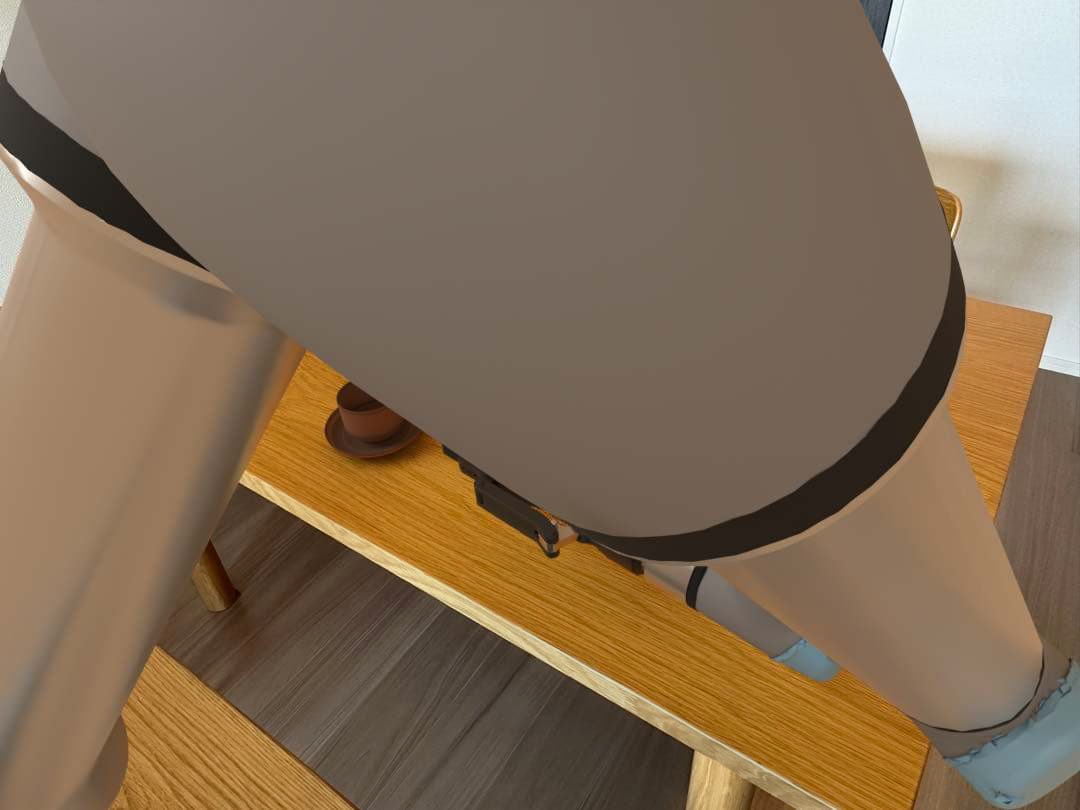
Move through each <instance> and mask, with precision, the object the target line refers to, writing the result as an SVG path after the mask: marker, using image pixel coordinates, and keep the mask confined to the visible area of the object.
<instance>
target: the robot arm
mask: <svg viewBox="0 0 1080 810" xmlns="http://www.w3.org/2000/svg"><path fill="white" fill-rule="evenodd" d="M924 152H925V151H924V149H923V146H922V144H921V141H920V138H919V134H918V132H917V128H916V125H915V122H914V120H913V117H912V113H911V109H910V107H909V104H908V101H907V99H906V97H905V95H904V93H903V91H902V88H901V87H900V84H899V82H898V80H897V78H896V76H895V74H894V71H893V70H892V67H891V65H890V63H889V61H888V58H887V57H886V55H885V53H884V50H883V48H882V46H881V44H880V41H879V40H878V37H877V35H876V32H875V31H874V29H873V26H872V24H871V22H870V20H869V19H868V16H867V13H866V12H865V10H864V8H863V6H862V3H861V1H860V0H20V3H19V6H18V10H17V13H16V17H15V20H14V24H13V28H12V31H11V34H10V38H9V42H8V45H7V49H6V51H5V56H4V59H3V60H2V66H1V69H0V160H1V161H2V163H3V164H4V165H5V167H6V168H7V169H8V172H9V173H11V175H12V177H13V178H14V179H15V180H16V182H17V183H18V184H19V186H20V187H21V189H23V191H24V192H25V194H26V195H27V196H28V198H29V199H30V201H31V202H32V205H33V210H32V214H31V217H30V219H29V223H28V226H27V229H26V232H25V234H24V237H23V240H22V244H21V247H20V249H19V253H18V255H17V258H16V262H15V264H14V267H13V272H12V274H11V278H10V279H9V282H8V286H7V289H6V291H5V294H4V298H3V301H2V303H1V307H0V810H112V809H111V808H112V807H113V805H114V803H115V802H116V799H117V797H118V795H119V793H120V791H121V788H122V785H123V782H124V780H125V777H126V774H127V768H128V763H129V740H128V739H129V738H128V731H127V728H126V724H125V720H124V718H123V715H122V712H123V710H124V708H125V706H126V704H127V702H128V701H129V699H130V697H131V694H132V692H133V691H134V689H135V686H136V685H137V683H138V681H139V678H140V677H141V675H142V673H143V671H144V669H145V667H146V665H147V663H148V662H149V659H150V658H151V655H152V653H153V652H154V650H155V647H156V646H157V643H158V641H159V640H160V638H161V636H162V635H163V632H164V630H165V628H166V626H167V624H168V622H169V620H170V618H171V616H172V614H173V612H174V610H175V608H176V607H177V604H178V603H179V601H180V599H181V596H182V595H183V593H184V591H185V589H186V587H187V585H188V583H189V582H190V579H191V577H192V575H193V573H194V571H195V569H196V567H197V565H198V564H199V561H200V559H201V557H202V556H203V553H204V552H205V550H206V548H207V546H208V544H209V542H210V540H211V538H212V536H213V534H214V532H215V530H216V528H217V526H218V525H219V522H220V520H221V519H222V517H223V514H224V513H225V510H226V509H227V507H228V505H229V502H230V501H231V499H232V497H233V495H234V493H235V492H236V489H237V487H238V485H239V483H240V481H241V479H242V478H243V476H244V474H245V472H246V469H247V467H248V466H249V464H250V462H251V459H252V458H253V455H254V454H255V452H256V450H257V448H258V446H259V444H260V442H261V440H262V438H263V436H264V434H265V432H266V430H267V428H268V427H269V425H270V422H271V420H272V419H273V417H274V415H275V413H276V411H277V409H278V407H279V405H280V403H281V400H282V399H283V397H284V395H285V394H286V392H287V390H288V387H289V385H290V383H291V381H292V380H293V377H294V376H295V374H296V372H297V370H298V368H299V365H300V364H301V362H302V360H303V358H304V356H305V354H306V352H307V351H308V352H309V353H311V355H313V356H314V357H316V358H317V359H319V361H322V362H323V363H324V364H326V366H328V367H329V368H331V369H332V370H334V371H335V372H336V373H337V374H339V375H341V377H343V378H344V379H346V380H347V381H348V382H349V381H350V382H351V383H353V384H354V385H356V386H357V387H359V388H360V389H362V390H363V391H365V392H366V393H368V394H369V395H371V396H372V397H374V398H375V399H376V400H378V401H379V402H381V403H382V404H384V405H385V406H387V407H388V408H390V409H391V410H393V411H394V412H396V413H397V414H399V415H400V416H402V417H403V418H405V419H406V420H408V421H409V422H411V423H412V424H414V425H415V426H417V427H418V428H419V429H421V430H422V431H423V432H424V433H425V434H427V435H428V436H429V437H431V438H433V439H434V440H436V441H437V442H438V443H440V444H441V449H442V454H443V455H444V456H446V457H449V458H450V459H452V460H453V461H455V462H457V463H458V469H459V471H460V472H461V473H462V474H464V475H465V476H467V477H469V478H470V479H472V480H474V481H473V488H474V495H475V501H476V505H477V506H478V507H480V508H481V509H483V510H484V511H486V512H487V513H489V514H490V515H492V516H493V517H495V518H496V519H499V520H500V521H501V522H503V523H505V524H507V525H508V526H509V527H511V528H513V529H514V530H516V531H518V532H519V533H520V534H522V535H523V536H526V538H529V540H530V539H531V540H532V541H533V542H535V543H536V544H537V546H538V547H539V548H540V549H541V551H542V552H543V554H544V555H545V556H546V557H547V558H548V559H556V558H558V557H559V556H560V555H561V548H563V547H565V546H567V545H569V544H571V543H573V542H577V543H578V544H583V545H589V546H593V547H595V548H596V549H597V550H598V551H600V552H601V554H603V555H604V556H605V557H606V558H607V559H608V560H610V561H612V562H613V563H616V564H617V565H618V566H620V567H621V568H623V569H625V570H627V571H628V572H630V573H631V574H634V575H635V576H644V578H645V581H646V582H647V583H649V584H651V585H652V586H654V587H656V588H657V589H658V590H661V591H663V592H664V593H666V594H667V595H668V596H671V597H672V598H674V599H675V600H677V601H679V602H680V603H682V604H684V605H686V606H687V607H689V608H690V609H692V610H694V611H696V612H697V613H700V614H701V615H703V616H705V617H706V618H708V619H710V620H711V621H713V622H714V623H716V624H717V625H719V626H721V627H723V628H724V629H726V630H727V631H728V632H731V633H732V634H733V635H735V636H737V637H738V638H739V639H741V640H743V641H745V643H748V644H749V645H751V646H752V647H753V648H756V649H757V650H758V651H760V652H761V653H763V654H765V655H766V656H768V658H769V659H770V660H771V661H773V662H775V663H779V664H781V665H783V666H785V667H787V668H789V669H791V670H793V671H795V672H797V673H798V674H801V675H803V676H805V677H806V678H809V679H810V680H812V681H815V682H818V683H826V682H829V681H831V680H834V678H836V676H838V674H839V673H840V671H841V670H842V668H843V669H844V670H845V671H847V672H848V673H849V674H851V676H853V677H855V679H857V680H859V681H860V682H861V683H863V684H864V685H865V686H867V687H868V688H869V689H870V690H871V691H873V692H875V693H876V694H877V695H879V696H880V697H882V698H883V699H884V700H885V701H887V702H888V703H889V704H890V705H892V706H893V707H894V708H895V709H896V711H899V712H900V713H901V714H902V715H904V716H905V717H906V718H908V719H909V720H910V721H911V722H912V723H913V725H915V726H916V727H917V728H918V729H919V730H920V732H921V733H922V734H923V735H924V736H925V737H926V739H927V740H928V741H929V742H930V743H931V744H932V746H933V747H934V748H935V749H936V750H937V751H938V752H939V754H940V756H941V758H942V760H943V761H944V762H945V763H946V764H947V765H948V766H949V767H951V768H954V769H955V770H956V771H957V773H959V774H960V775H961V777H963V779H965V780H966V781H967V783H968V784H970V786H971V787H972V788H973V789H974V790H975V791H976V792H977V793H978V794H979V796H981V797H982V798H983V799H984V800H985V801H986V802H988V803H989V804H990V805H991V806H994V807H997V808H999V809H1003V810H1017V809H1020V808H1023V807H1026V806H1029V804H1032V803H1035V801H1037V800H1040V799H1041V798H1043V797H1045V796H1046V795H1047V794H1049V793H1050V792H1052V791H1053V790H1055V789H1056V788H1058V787H1059V786H1061V785H1062V784H1064V783H1065V782H1066V781H1067V780H1069V779H1070V778H1071V777H1073V776H1074V775H1076V774H1077V773H1078V772H1079V771H1080V664H1079V663H1078V662H1076V661H1075V660H1074V659H1073V658H1071V657H1067V656H1066V655H1064V654H1062V653H1061V652H1060V651H1059V650H1058V649H1057V648H1056V647H1054V646H1053V645H1052V644H1051V643H1049V642H1048V641H1047V639H1045V638H1044V637H1043V636H1042V635H1041V634H1040V633H1039V632H1038V630H1037V628H1036V625H1035V624H1034V621H1033V618H1032V616H1031V613H1030V611H1029V608H1028V606H1027V603H1026V601H1025V597H1024V596H1023V593H1022V591H1021V588H1020V586H1019V583H1018V581H1017V578H1016V575H1015V572H1014V570H1013V568H1012V565H1011V563H1010V560H1009V558H1008V555H1007V553H1006V550H1005V548H1004V546H1003V542H1002V541H1001V539H1000V535H999V534H998V531H997V528H996V525H995V522H994V521H993V518H992V515H991V512H990V510H989V508H988V505H987V503H986V500H985V498H984V496H983V493H982V491H981V488H980V485H979V483H978V481H977V478H976V475H975V473H974V470H973V468H972V466H971V462H970V460H969V457H968V456H967V452H966V450H965V448H964V445H963V443H962V439H961V438H960V435H959V433H958V431H957V428H956V425H955V423H954V420H953V418H952V415H951V412H950V410H949V407H948V406H947V403H948V400H949V398H950V396H951V394H952V392H953V390H954V388H955V384H956V382H957V378H958V375H959V372H960V369H961V365H962V362H963V359H964V354H965V349H966V348H965V347H966V340H967V334H968V325H969V320H968V318H969V317H968V303H967V302H968V301H967V290H966V286H965V280H964V276H963V272H962V267H961V265H960V261H959V258H958V255H957V251H956V248H955V245H954V241H953V238H952V234H951V230H950V228H949V223H948V220H947V217H946V212H945V208H944V205H943V204H942V202H941V200H940V197H939V196H938V192H937V189H936V186H935V183H934V180H933V176H932V173H931V171H930V168H929V164H928V162H927V159H926V155H925V153H924ZM422 431H421V432H422ZM540 510H541V511H544V512H547V513H548V514H550V516H551V517H553V518H552V519H549V518H548V517H547V515H545V514H544V513H542V512H541V511H540ZM558 520H559V521H561V522H563V523H564V524H565V525H562V524H560V523H559V522H558Z"/></svg>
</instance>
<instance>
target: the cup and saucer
mask: <svg viewBox="0 0 1080 810" xmlns="http://www.w3.org/2000/svg"><path fill="white" fill-rule="evenodd" d="M335 400H336V401H335V402H336V405H337V407H336V409H335V410H333V411H332V413H330V415H329V416H328V418H327V420H326V422H325V425H324V437H325V439H326V441H327V443H328V444H329V446H330V447H332V449H334V450H335V451H337V452H338V453H340V454H342V455H345V456H348V457H354V458H363V459H365V458H367V459H369V458H371V459H372V458H377V457H378V458H379V457H383V456H387V455H390V454H392V453H395V452H398V451H400V450H401V449H403V448H405V447H406V446H408V445H409V444H411V443H412V442H413V441H414V440H415V439H416V438H417V437H418V436H419V435H420V434H421V432H422V430H421V429H419V428H418V427H417V426H415V425H414V424H412V423H411V422H409V421H408V420H406V419H405V418H403V417H402V416H400V415H399V414H397V413H396V412H394V411H393V410H391V409H390V408H388V407H387V406H385V405H384V404H382V403H381V402H379V401H378V400H376V399H375V398H374V397H372V396H371V395H369V394H368V393H366V392H365V391H363V390H362V389H360V388H359V387H357V386H356V385H354V384H353V383H351V382H350V381H349V380H348V382H346V383H345V384H343V385H342V386H341V387H340V388H339V390H338V391H337V393H336V397H335Z"/></svg>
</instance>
